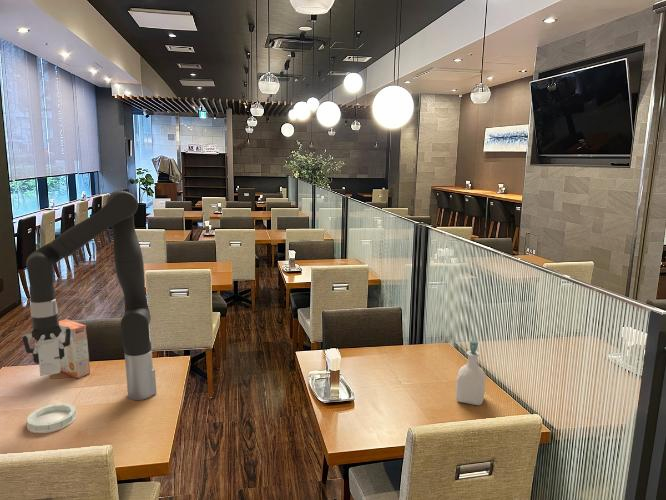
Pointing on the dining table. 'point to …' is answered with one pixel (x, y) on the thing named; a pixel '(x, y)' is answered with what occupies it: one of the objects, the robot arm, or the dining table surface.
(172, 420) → the dining table surface
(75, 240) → the robot arm
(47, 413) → the dish
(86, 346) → the cracker box
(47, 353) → the skincare box
